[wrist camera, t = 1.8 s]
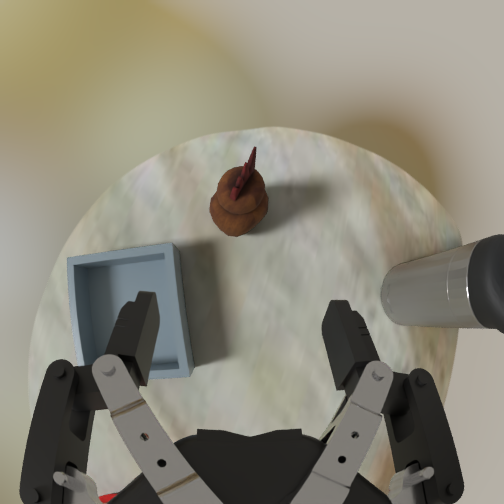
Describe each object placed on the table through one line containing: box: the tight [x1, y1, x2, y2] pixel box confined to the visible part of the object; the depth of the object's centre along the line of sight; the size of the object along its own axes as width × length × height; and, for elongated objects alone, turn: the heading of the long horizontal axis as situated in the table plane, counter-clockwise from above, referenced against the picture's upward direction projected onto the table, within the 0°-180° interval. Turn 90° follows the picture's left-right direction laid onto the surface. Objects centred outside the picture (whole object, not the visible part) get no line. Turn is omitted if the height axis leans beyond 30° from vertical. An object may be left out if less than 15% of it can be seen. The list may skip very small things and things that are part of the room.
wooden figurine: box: [210, 147, 268, 237], centre depth 30 cm, size 7×6×15 cm
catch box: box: [67, 243, 195, 379], centre depth 32 cm, size 14×15×5 cm
